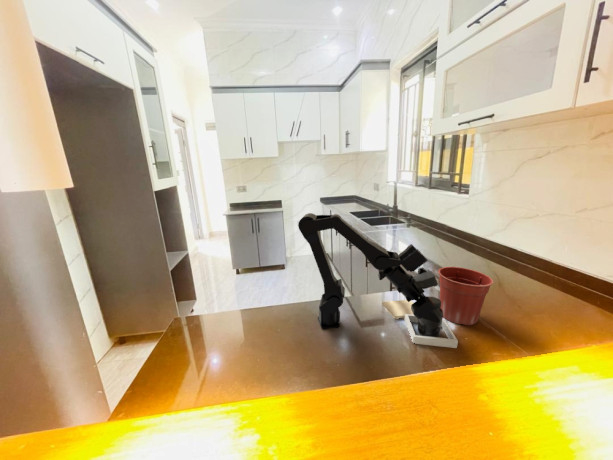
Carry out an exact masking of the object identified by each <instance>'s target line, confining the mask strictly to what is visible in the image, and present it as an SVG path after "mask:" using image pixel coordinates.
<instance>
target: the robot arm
mask: <svg viewBox="0 0 613 460" xmlns="http://www.w3.org/2000/svg"><path fill="white" fill-rule="evenodd" d="M297 226H298V230H299V231H300V233H301V235H302V236H303V238H304V240H306V242H307V243H308V245H309V247H310V249H311V251H312V255H313V258H314V260H315V263H316V266H317V269H318V272H319V274H320V277H321V280H322V283H323V291H324V293H322V295H321V297H320V302H319V305H318V316H317V321H318V323H319V326H320V328H321V329H322V330H324V329H326V330H327V329H332V328H333V329H334V328H340V327H341V325H340V322H341V311H340V309H339V308H340V307H342V305H343V304H344V298H345V297H346V296H345V294H346V288H345V286H344V285H343V280H342V278H339V279H337V277H336V276H335V274H334V271H333V268H332V266H331V263H330V260H329V257H328V254H327V251H326V248H325V246H324V243H323V241H322V240H323V239H322V232H321V231H327V230H333V229H334V231H336V232H337V233H338V234H340V235H341V236H342V237H343V238H345V239H346V240H347V241H348V242H349V243H350V244H352V245H353V246H354V247H355V248H356V249H358V250H359V251H360V252H361V253H362V254H363V255H364V257H365V258H366V259H367V260H368V262H369V264H371V265H372V267H373V268H374V269H375V270H378V271H377V272H378V279H379V281H382V280H384V278H386V279H387V280H388V281H389V282H390V283H391V284H392V285H393V286H394V288H396V290H397V292H398V293H399V294H402V295H403V296H404V298H405V300H407V301H408V302H410V301H414V302H413V304H412V305H411V310H412V312H413V314H414V315H415V317H416V318H417V319H421V318H423V319H427V320H430V321H432V322H435V323H439V322H440V320H439V318H438V317H437V315H436V313H435V312H434V309H435V307H436V306H435V305H434V303H433V302H432V301H431V299H430V298H429V296H426V295H425V294H424V293H425V292H426V291H425V290H426V289H430V288H431V287H438V285H439V283H438V280H437V279H436V276H435V274H434V272H432V271H431V270H429V269H427V270H426V269H425V268H424V267H421V266H423V265H424V264H425V263H427V262H428V259H427V257H426V256H425V255H424V254H423V253H422V252H421V251H420V250H419V249H418V248H417V247H415V246H414V245H413V244H411V243H410V244H409V245H408V246H407V247H405V248H404V250H403V251H402V252H400V253H398V252H396V251H395V252H394V251H390V250H387V249H386V248H385V247H382V245H379V244H377V243H375V242H372V241H371V240H369V239H368V238H366V236H364V235H363V234H362V233H360V232H359V231H358V230H357V229H355V228H354V227H353V226H352V225H350V224H349V223H348V222H347V221H346V220H345V219H343V217H342V216H341V215H339V214H336V213H335V214H318V215H317V214H315V213H310V212H309V213H306V214H305V215H303V217H302V218H300V220H299V221H298V225H297ZM416 270H417V273H416V275H414V276H413V275H412V274H411V273H412V272H415V271H416ZM408 272H410V273H408Z"/></svg>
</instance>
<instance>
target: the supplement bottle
mask: <svg viewBox="0 0 613 460" xmlns="http://www.w3.org/2000/svg"><path fill="white" fill-rule="evenodd" d="M428 297H429V298H430V299H431V301H432V302H433V303H434V305H435V306H436V307H435V309H434V312H435V313H436V315H437V317H438V318H439V320H440V322H439V323H435V322H432V321H430V320H427V319H423V318H421V319H418V322H417V327H416V328H417V329H416V330H417V332H418V334H420V336H428V337H437V338H440V336H441V333H442V332H441V331H442V319H443V318H444V317H443V311H442V309H441V301H440V298H438V297H435V296H430V295H429V296H428Z"/></svg>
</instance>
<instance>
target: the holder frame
mask: <svg viewBox="0 0 613 460" xmlns="http://www.w3.org/2000/svg"><path fill="white" fill-rule="evenodd" d="M403 319H404V320H403V321H404V324H405V325H407V326H406V329H407V328H408V329H407V331H409V332H408V333H410V334H409V337H410V336H411V337H410V340H411V339H412V340H411V343H412V342H413V343H412V344H414V343H415V345H424V346H431V347H432V346H435V347H442V348H453V349H457V347H458V343H459V340H458V339H457V337H456V336H455V334H454V333H453V331H452V329H451V327H450V326H449V325H448V323H447V322H446V321H447V320H446V319H445V318H444V317H443V319H442V326H441V329H442V330H443V331H444V333H445V335H446V336H447V338H445V337H438V338H437V337H428V336H422V335H417V334H416V333H415V330H414V327H413V325H412V323H418V319H417V318H416V317H415V315H411V314H405V318H403ZM410 321H411V322H410Z"/></svg>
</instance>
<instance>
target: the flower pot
mask: <svg viewBox="0 0 613 460" xmlns="http://www.w3.org/2000/svg"><path fill="white" fill-rule="evenodd" d="M437 271H438V275H439V300H440V301H441V309H442V311H443V318H444V319H445V320H446V321H450V322H451V323H455V324H458V325H460V324H462V325H464V326H473V325H475V324H477V322H478V320H479V317H480V314H481V312H482V308H483V305H484V302H485V299H486V297H487V294H488V293H489V291H490V289H491V288H490V287H491V286H492V285H493V284H494V280H493V278H492V277H490V276H489V275H487V274H485V273H483V272H481V271H478V270H474V269H470V268H466V267H459V266H445V267H441V268H439V269H438V270H437Z"/></svg>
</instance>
